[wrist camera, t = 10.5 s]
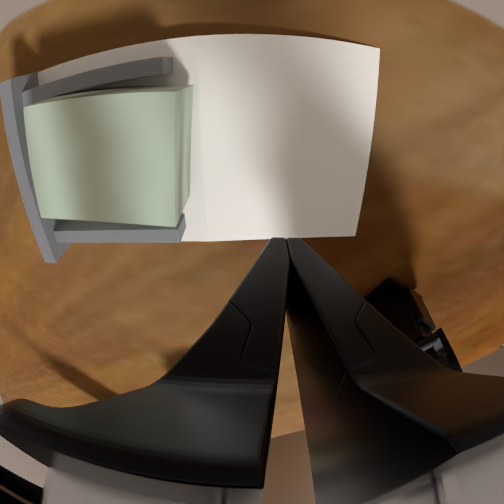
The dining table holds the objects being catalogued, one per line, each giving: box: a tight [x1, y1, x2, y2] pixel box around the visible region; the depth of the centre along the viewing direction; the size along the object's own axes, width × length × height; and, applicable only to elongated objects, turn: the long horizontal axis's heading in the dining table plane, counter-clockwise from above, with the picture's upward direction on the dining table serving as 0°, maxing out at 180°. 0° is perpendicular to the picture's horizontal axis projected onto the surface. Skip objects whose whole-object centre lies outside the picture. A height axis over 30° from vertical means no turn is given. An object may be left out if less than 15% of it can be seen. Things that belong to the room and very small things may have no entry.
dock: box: [0, 34, 380, 263], centre depth 17 cm, size 24×14×5 cm, turn 90°
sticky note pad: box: [23, 85, 194, 227], centre depth 15 cm, size 9×7×5 cm
